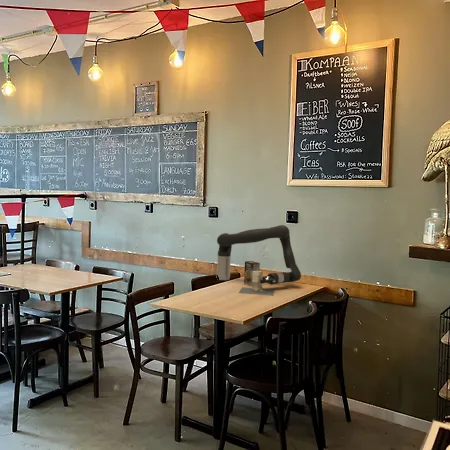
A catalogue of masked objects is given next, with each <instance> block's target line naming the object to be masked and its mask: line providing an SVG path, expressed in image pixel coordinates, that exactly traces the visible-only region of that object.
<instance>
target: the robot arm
mask: <svg viewBox="0 0 450 450" xmlns="http://www.w3.org/2000/svg"><path fill="white" fill-rule="evenodd" d="M269 239H279V241H280V244H281V247H282V253H283V259H284V264H285V267H286V269H290V271H288V272H286V271H285V272H284V271H283V272H278V271H277V272H270V273H268V274H267V275H263V280H260V283H261V284H262V285H263V284H268V285H271V286H272V285H279V284H283V283H293V282H296V281H300V280H301V278H302V273H301V271H300V269H299V267H298V265H297V263H296V258H295V255H294V252H293V248H292V244H291V236H290V229H289V228H288V227H287V225H284V224H280V225H276V226H273V227H272V226H271V227H268V228H267V227H266V228H265V227H263V228H254V229H248V230H244V231H240V232H237V233H226V232H224V233H221V234H220V235H218V237H217V238H216V242H217V244H218V252H217V266H216V276H217V275H218V277H219V280H218V281H229V280H230V279H231V253H232V248H233V247H232V246H233V245H238V244H239V245H241V244H252V243H253V244H254V243H259V242H263V241H266V240H269Z"/></svg>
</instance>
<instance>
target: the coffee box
mask: <svg viewBox="0 0 450 450" xmlns="http://www.w3.org/2000/svg"><path fill="white" fill-rule="evenodd" d="M260 267H261V263H260V262H257V261H254V260H253V261H252V260H246V261H244V278H243V284H244V285H247V286H251V287H252V278H253V271H261V270H260Z"/></svg>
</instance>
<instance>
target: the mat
mask: <svg viewBox="0 0 450 450" xmlns="http://www.w3.org/2000/svg"><path fill="white" fill-rule="evenodd" d="M275 290H276V289H271V288H270V289H269V288H262V292H254V291H252V287H247V286H246V287H241V288H240V290H239V291H238V294H247V295H261V296H274V293H275Z"/></svg>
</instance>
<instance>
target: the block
mask: <svg viewBox="0 0 450 450" xmlns="http://www.w3.org/2000/svg"><path fill="white" fill-rule="evenodd" d="M263 273H264V272H263V271H261V270H259V271H253V278H252V286H251V288H252V291H254V292H262V289H263V284H261V283H260V280H263V276H264V274H263Z"/></svg>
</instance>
